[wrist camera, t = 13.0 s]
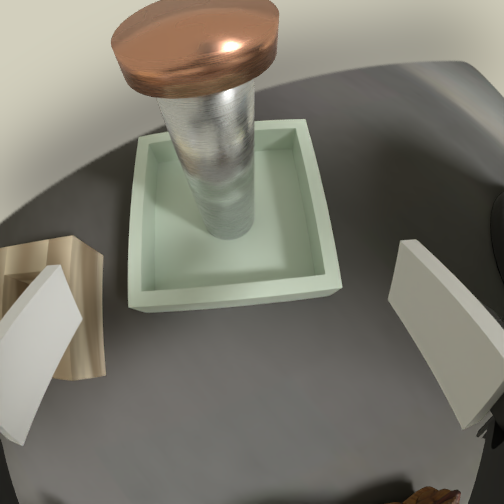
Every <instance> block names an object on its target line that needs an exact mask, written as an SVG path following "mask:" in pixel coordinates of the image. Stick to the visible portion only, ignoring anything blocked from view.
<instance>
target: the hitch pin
mask: <svg viewBox="0 0 504 504" xmlns="http://www.w3.org/2000/svg"><path fill="white" fill-rule="evenodd" d="M278 24H279V11H278V9H277V7H276V6H275V5H274V4H273V3H272V2H271V1H269V0H160V1H157V2H155V3H153V4H150V5H148V6H146V7H144V8H143V9H141V10H139V11H138V12H136V13H134V14H133V15H131V16H130V17H129V18H127V19H126V20H125V21H124V22H123V23H121V24H120V26H119V27H118V28H117V29H116V30H115V32H114V34H113V36H112V39H111V46H112V49H113V51H114V54H115V56H116V59H117V61H118V63H119V66H120V68H121V71H122V73H123V75H124V78H125V80H126V82H127V83H128V85H129V86H130V87H131V88H132V89H134V90H135V91H137V92H139V93H141V94H144V95H147V96H151V97H156V100H157V102H158V105H159V108H160V111H161V113H162V116H163V119H164V122H165V124H166V127H167V130H168V132H169V135H170V138H171V140H172V143H173V146H174V148H175V151H176V153H177V156H178V159H179V161H180V164H181V166H182V169H183V172H184V174H185V177H186V179H187V182H188V184H189V187H190V190H191V192H192V195H193V197H194V200H195V202H196V205H197V207H198V210H199V212H200V215H201V217H202V219H203V222H204V224H205V227H206V229H207V230H208V231H209V233H210V234H212V235H213V236H214V237H216V238H219V239H222V240H234V239H237V238H240V237H242V236H243V235H245V234H246V233H247V232H248V231H249V230H250V229H251V227H252V225H253V222H254V78H255V77H257V76H259V75H260V74H262V73H263V72H264V71H265V70H267V69H268V68H269V67H270V65H271V64H272V63H273V61H274V60H275V57H276V54H277V40H278Z"/></svg>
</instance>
